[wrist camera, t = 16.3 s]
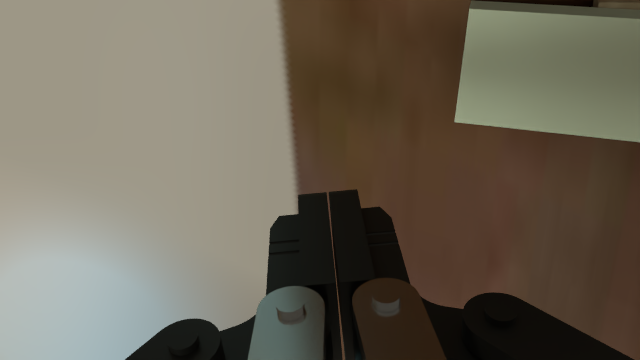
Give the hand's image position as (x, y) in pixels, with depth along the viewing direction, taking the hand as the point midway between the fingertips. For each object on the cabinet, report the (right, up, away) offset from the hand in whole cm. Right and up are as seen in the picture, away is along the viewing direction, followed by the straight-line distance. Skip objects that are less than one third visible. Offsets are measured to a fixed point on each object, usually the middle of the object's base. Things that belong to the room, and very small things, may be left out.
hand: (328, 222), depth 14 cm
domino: (+6, +6, +10) cm, 13 cm away
